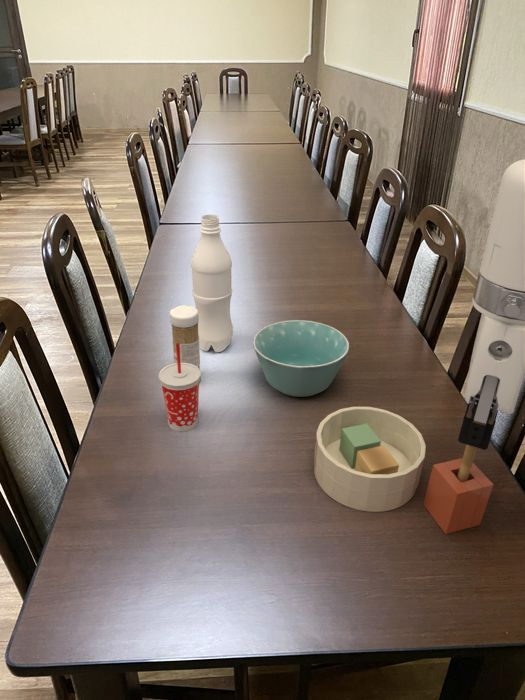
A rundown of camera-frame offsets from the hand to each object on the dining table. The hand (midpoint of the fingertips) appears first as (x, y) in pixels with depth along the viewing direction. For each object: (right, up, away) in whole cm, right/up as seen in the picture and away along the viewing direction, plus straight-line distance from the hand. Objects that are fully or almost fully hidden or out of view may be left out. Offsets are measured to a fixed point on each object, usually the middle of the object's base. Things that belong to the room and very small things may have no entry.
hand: (473, 438), depth 62 cm
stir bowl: (-10, -7, +13) cm, 18 cm away
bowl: (-18, +4, +31) cm, 36 cm away
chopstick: (0, -11, +6) cm, 13 cm away
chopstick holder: (0, -11, +7) cm, 13 cm away
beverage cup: (-37, -1, +21) cm, 42 cm away
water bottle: (-34, +11, +41) cm, 54 cm away
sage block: (-11, -5, +14) cm, 18 cm away
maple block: (-9, -7, +10) cm, 16 cm away
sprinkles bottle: (-37, +5, +31) cm, 49 cm away
